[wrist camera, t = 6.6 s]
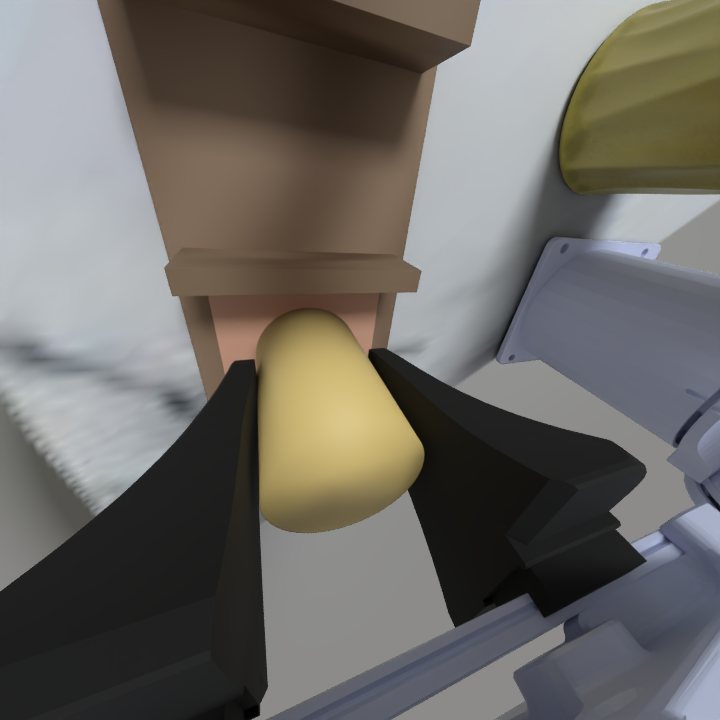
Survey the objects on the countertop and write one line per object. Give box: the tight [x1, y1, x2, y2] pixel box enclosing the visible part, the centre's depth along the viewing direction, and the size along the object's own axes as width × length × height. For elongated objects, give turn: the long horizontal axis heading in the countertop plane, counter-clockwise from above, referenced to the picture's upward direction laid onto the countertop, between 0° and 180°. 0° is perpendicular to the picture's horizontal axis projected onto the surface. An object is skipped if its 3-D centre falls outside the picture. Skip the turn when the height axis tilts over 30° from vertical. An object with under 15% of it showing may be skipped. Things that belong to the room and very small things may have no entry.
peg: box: [256, 308, 424, 533], centre depth 9 cm, size 4×4×6 cm
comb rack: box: [97, 0, 481, 401], centre depth 10 cm, size 9×15×3 cm, turn 174°
